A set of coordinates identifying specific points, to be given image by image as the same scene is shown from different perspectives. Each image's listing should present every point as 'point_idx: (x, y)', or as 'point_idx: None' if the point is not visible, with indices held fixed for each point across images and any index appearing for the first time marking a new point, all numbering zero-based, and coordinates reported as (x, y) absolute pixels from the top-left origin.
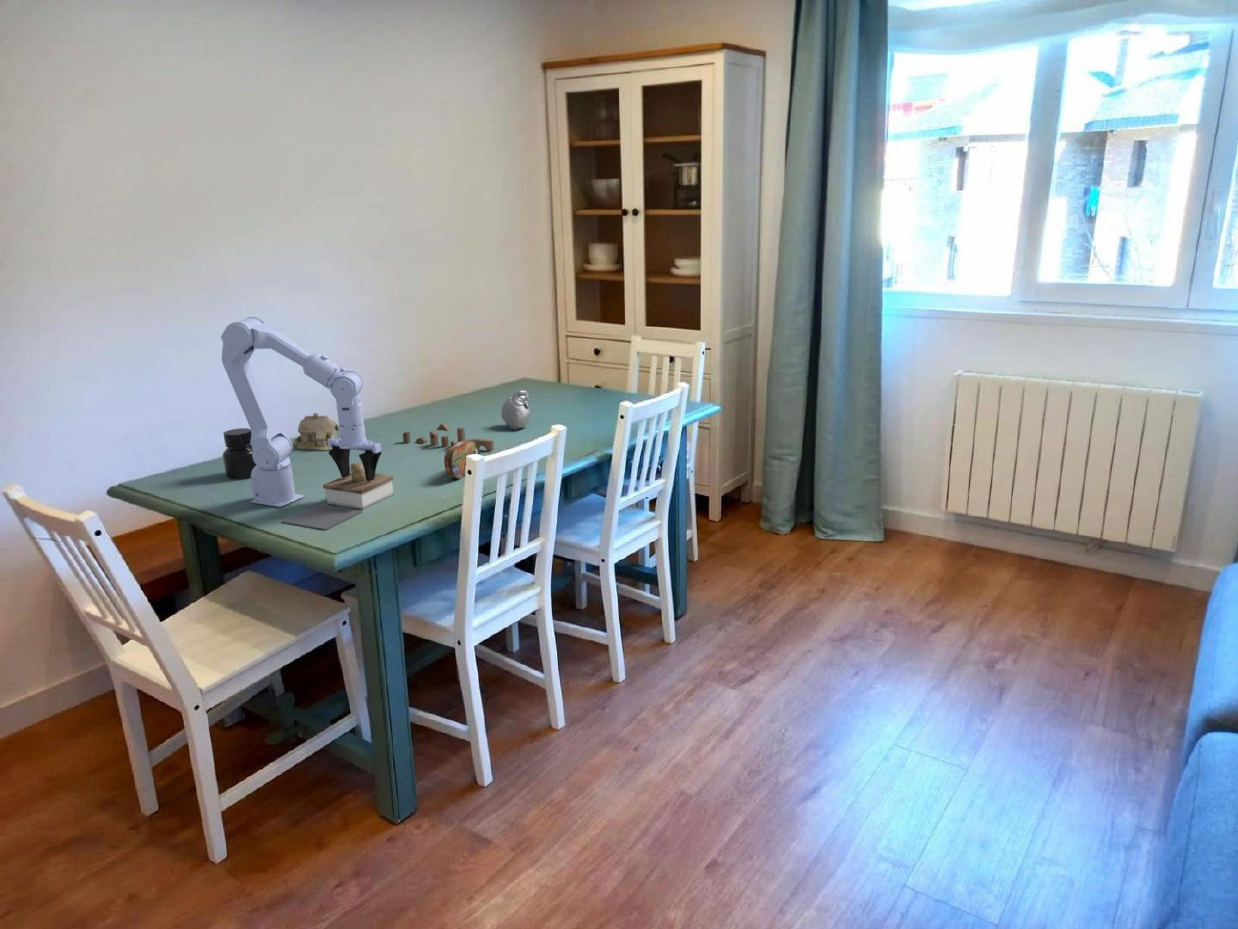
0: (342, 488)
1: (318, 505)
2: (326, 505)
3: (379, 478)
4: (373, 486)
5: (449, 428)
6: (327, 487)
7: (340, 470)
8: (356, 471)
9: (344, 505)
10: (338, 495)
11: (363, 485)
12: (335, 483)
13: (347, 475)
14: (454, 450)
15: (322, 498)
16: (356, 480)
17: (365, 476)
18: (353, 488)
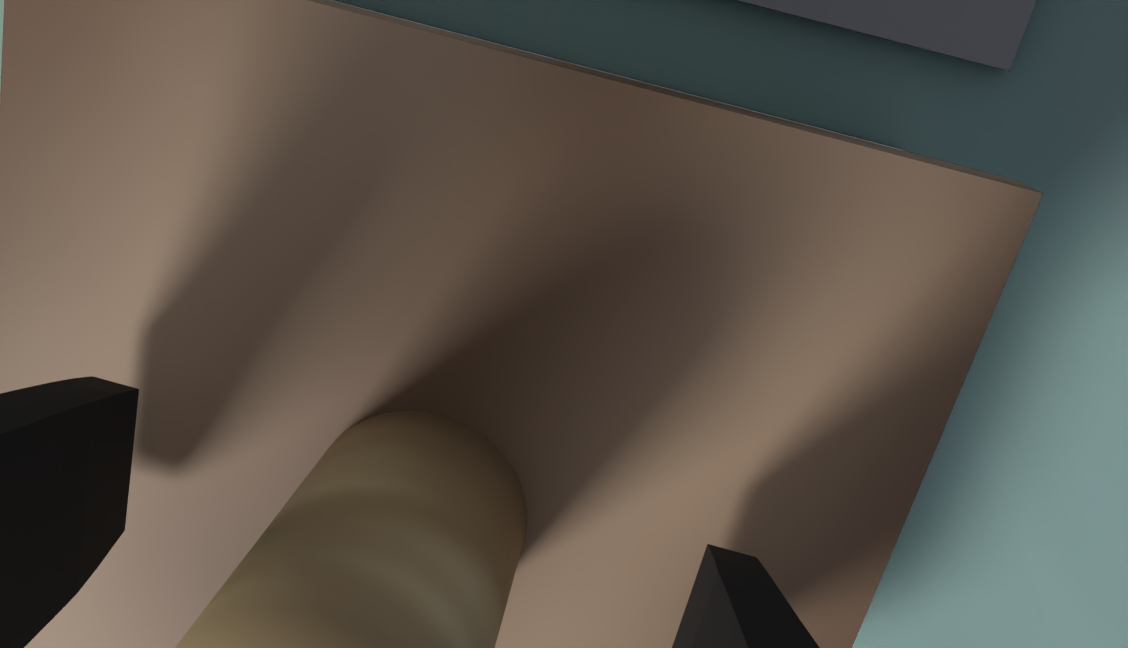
0: (503, 53)
1: (999, 5)
2: (861, 25)
3: (116, 630)
4: (9, 281)
5: None
6: (911, 158)
7: (768, 623)
8: (293, 533)
9: (567, 62)
10: None
11: (164, 256)
12: (796, 318)
13: (677, 638)
14: None
15: (1079, 366)
16: (379, 426)
17: (77, 407)
18: (254, 57)
